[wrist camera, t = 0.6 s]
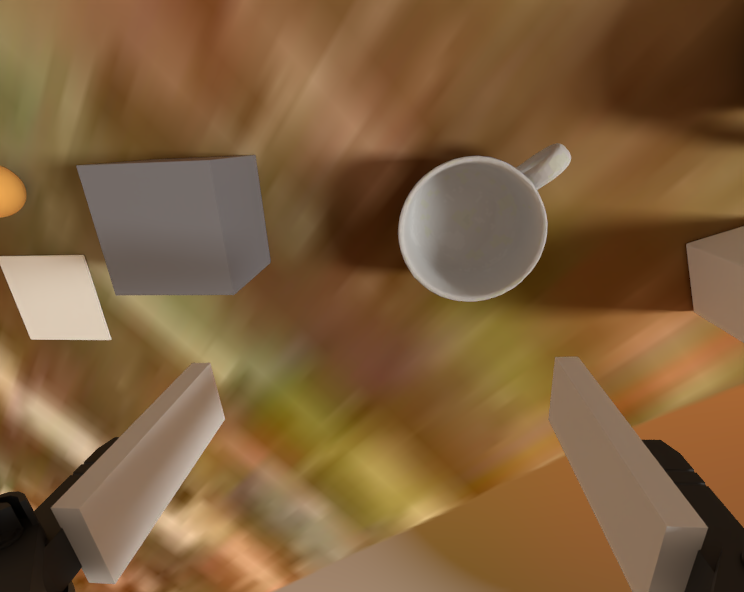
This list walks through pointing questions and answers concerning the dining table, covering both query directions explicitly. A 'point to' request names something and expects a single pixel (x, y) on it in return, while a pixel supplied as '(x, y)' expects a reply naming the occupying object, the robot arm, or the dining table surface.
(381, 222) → the dining table surface
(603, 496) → the robot arm
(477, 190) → the teacup
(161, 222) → the grey block
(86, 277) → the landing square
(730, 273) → the milk carton
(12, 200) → the ball
